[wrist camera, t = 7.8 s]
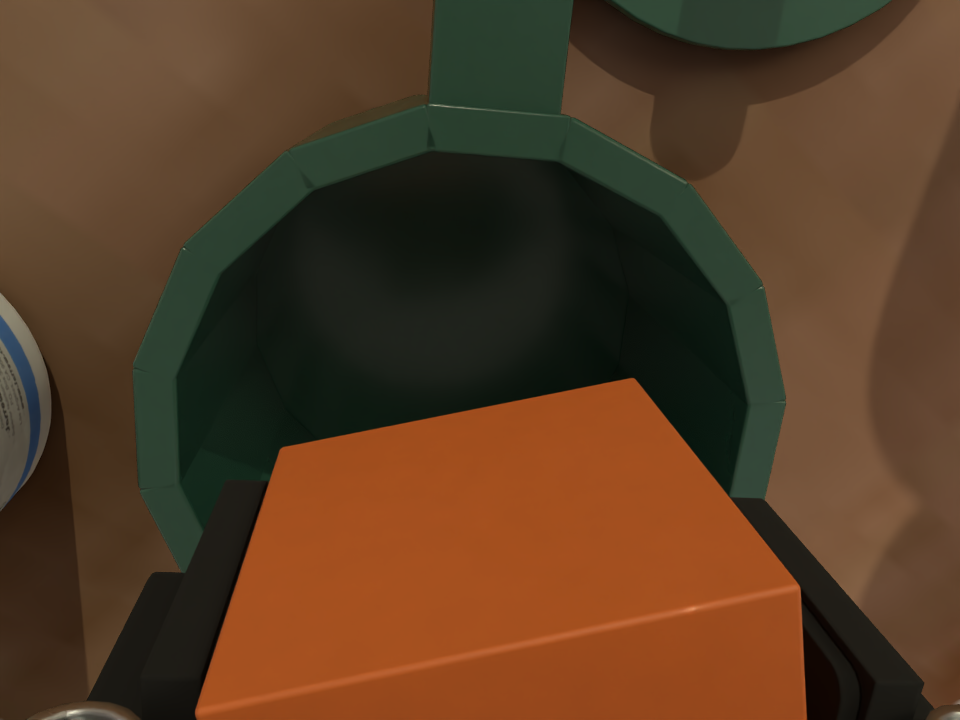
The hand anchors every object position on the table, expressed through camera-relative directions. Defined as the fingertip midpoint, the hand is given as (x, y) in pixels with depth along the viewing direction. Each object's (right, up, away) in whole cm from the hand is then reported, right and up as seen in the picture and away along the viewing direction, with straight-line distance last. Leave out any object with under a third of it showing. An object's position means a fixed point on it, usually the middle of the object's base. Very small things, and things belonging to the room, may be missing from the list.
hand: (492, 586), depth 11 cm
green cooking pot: (-1, +5, +13) cm, 14 cm away
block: (0, 0, +1) cm, 1 cm away
